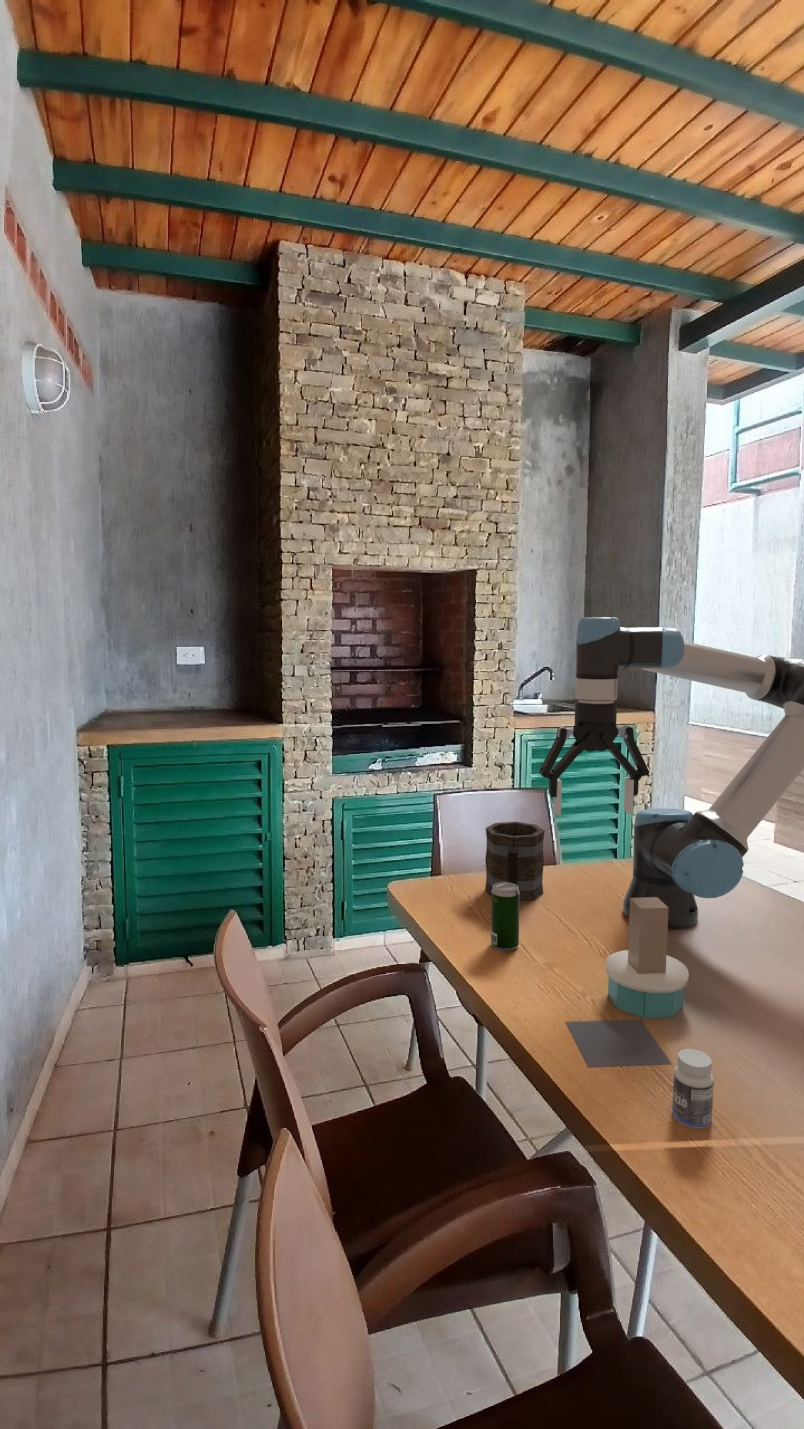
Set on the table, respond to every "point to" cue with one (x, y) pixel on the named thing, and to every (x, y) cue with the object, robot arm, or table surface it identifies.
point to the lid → (647, 952)
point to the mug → (515, 858)
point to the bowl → (645, 1001)
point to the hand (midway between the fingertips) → (592, 813)
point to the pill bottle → (693, 1089)
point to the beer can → (505, 916)
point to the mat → (616, 1043)
